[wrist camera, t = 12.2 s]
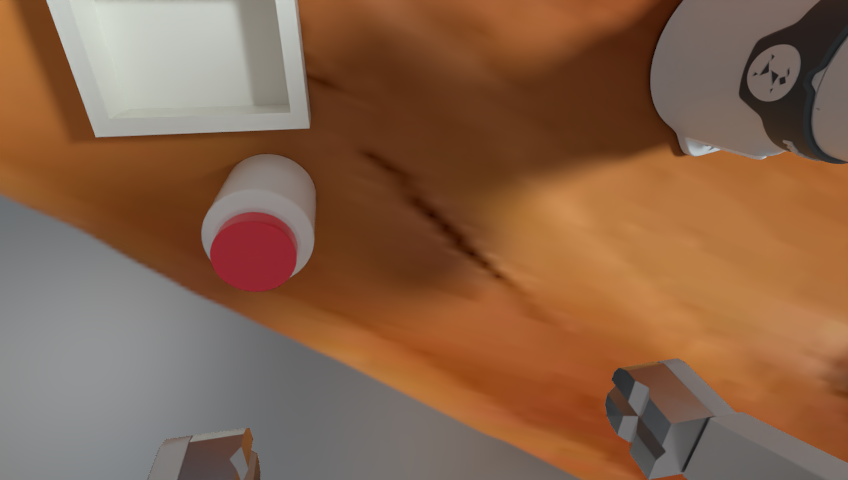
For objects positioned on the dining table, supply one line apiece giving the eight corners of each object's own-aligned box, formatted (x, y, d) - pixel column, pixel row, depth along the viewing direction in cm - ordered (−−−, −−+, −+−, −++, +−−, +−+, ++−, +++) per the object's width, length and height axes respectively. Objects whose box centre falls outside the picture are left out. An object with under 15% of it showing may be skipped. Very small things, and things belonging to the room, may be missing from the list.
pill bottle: (307, 241, 41) (302, 311, 32) (219, 225, 39) (185, 296, 29) (324, 165, 38) (324, 219, 28) (230, 143, 35) (196, 193, 26)
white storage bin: (293, -32, 31) (290, -36, 27) (311, 116, 36) (309, 128, 32) (66, -37, 28) (30, -43, 25) (119, 123, 33) (95, 137, 30)
